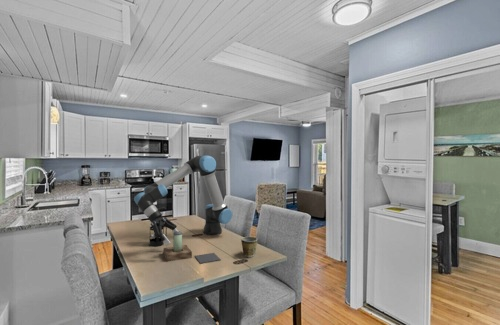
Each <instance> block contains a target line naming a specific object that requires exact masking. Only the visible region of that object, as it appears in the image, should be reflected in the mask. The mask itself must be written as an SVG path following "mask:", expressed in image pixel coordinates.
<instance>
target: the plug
mask: <svg viewBox="0 0 500 325" xmlns="http://www.w3.org/2000/svg"><path fill="white" fill-rule="evenodd" d="M172 233H173V232H172ZM172 237H173V241H172V245H173V246H172V247H173V252H178V251H182V245H183V231H179V230H177V232H174V233H173V236H172Z"/></svg>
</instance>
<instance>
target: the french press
mask: <svg viewBox="0 0 500 325" xmlns="http://www.w3.org/2000/svg"><path fill="white" fill-rule="evenodd" d="M158 211H159V212H160V213H161V210H158ZM161 228H162V235H163V234H164V235H165V236H166V237H167V236H168V235H167V234H168V232H167V229H168V228H167V227H165V226H161ZM164 229H165V233H164ZM149 231H153V228H152V226H151V225H150V226H149ZM153 232H154V231H153ZM167 238H168V237H167ZM164 244H165V243H164V242H163V241H162V240H161V238H160V237H159V238H157V237H156V236H155V234H154V233H152V234H149V243H148V246H149V247H151V248H153V247H154V248H156V247H161V246H164Z"/></svg>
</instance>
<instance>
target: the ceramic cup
mask: <svg viewBox="0 0 500 325" xmlns="http://www.w3.org/2000/svg"><path fill="white" fill-rule="evenodd" d="M240 240H241V241H240V242H241V245H242V254H243V257H245V258H253V257H255V255H256V250H257V246H258V238H257V237H254V236H243V237H241V238H240Z"/></svg>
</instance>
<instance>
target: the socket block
mask: <svg viewBox="0 0 500 325" xmlns="http://www.w3.org/2000/svg"><path fill="white" fill-rule="evenodd" d="M163 255H164V257H165V261H166V262H175V261H181V260H186V259H192V258H193V251H192V250H191V248H189V246H188V245H187V244H182V251H178V252H173V246H170V247H168V246H167V247H163Z"/></svg>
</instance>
